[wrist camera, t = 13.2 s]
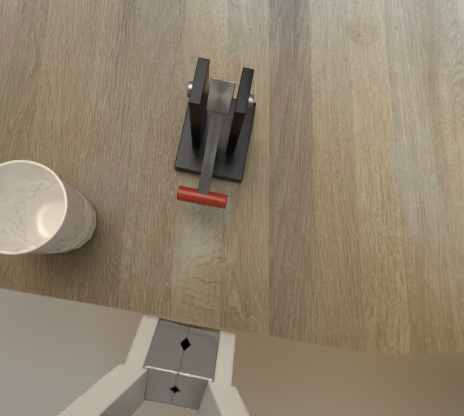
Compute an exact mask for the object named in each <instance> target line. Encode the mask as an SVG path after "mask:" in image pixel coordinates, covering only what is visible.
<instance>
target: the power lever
mask: <svg viewBox="0 0 464 416" xmlns="http://www.w3.org/2000/svg"><path fill="white" fill-rule="evenodd" d="M234 88H235V82H232V81H228V80H223V79H218V78H214V77H211V80H210V85H209V91H208V97H207V103H206V110H210V111H212V113H211V119H210V124H209V130H208V136H207V141H206V147H205V153H204V158H203V164H202V170H201V176H200V181H199V187H198V189H194V188H189V187H184V186H179V188H178V193H177V200H182V201H187V202H192V203H197V204H202V205H207V206H213V207H218V208H223V209H225V207H226V203H227V197H228V196H227V195H224V194H219V193H214V192H209V189H210V184H211V179H212V173H213V168H214V163H215V157H216V152H217V147H218V141H219V136H220V131H221V125H222V120H223V115H224V114H228V115H229V114H230V109H231V104H232V99H233V93H234Z"/></svg>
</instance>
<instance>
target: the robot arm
mask: <svg viewBox="0 0 464 416" xmlns="http://www.w3.org/2000/svg"><path fill="white" fill-rule="evenodd" d="M235 341H236V336H235V334H234V333H230V332H224V331H219V330H217V329H212V328H206V327H201V326H196V325H189V324H185V323H180V322H175V321H171V320H166V319H162V318H158V317H154V316H149V315H144V316H143V317H142V319H141V321H140V324H139V326H138V329H137V332H136V335H135V337H134V340H133V342H132V346H131V348H130V350H129V353H128V356H127V358H126V361H125V363H124V364H122V363H119V364H118V365H117V366H115V367H114V368H113V369H112V370H111V371H109V373H107V374H106V375H105V376H104V377H102V378H101V379H100V380H99V381H98V382H96V383H95V384H94V385H93V386H92V387H90V388H89V389H88V390H87V391H86V392H85V393H83V394H82V395H81V396H80V397H79V398H77V399H76V400H75V401H74V402H73V403H71V404H70V405H69V406H68V407H67V408H65V409H64V410H63V411H62V412H61V413H59V414H58V415H57V416H131V415H132V414H133V413H134V412H135V411H136V410H137V409H138V408H139V407H140V406H141V404H142V403H143V402H144V400H149V401H155V402H161V403H167V404H172V405H177V406H182V407H186V408H190V409H195V410H198V414H199V416H250V415H249V414H248V411H247V409H246V407H245V404H244V402H243V400H242V398H241V396H240V394H239V392H238V389H237V387H235V386H232V377H233V365H234V353H235Z"/></svg>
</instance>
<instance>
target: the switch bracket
mask: <svg viewBox="0 0 464 416" xmlns="http://www.w3.org/2000/svg"><path fill="white" fill-rule="evenodd" d="M209 65H210V60H209V59H204V58H200V57H199V58H198V62H197V67H196V71H195V76H194V80H193V82H192V81H190V82H189V85H188V91H187V97H190V98H189V103H188V108H187V112H186V117H185V121H184V126H183V130H182V135H181V139H180V144H179V148H178V153H177V157H176V161H175V166H174V167H175V170H179V171H184V172H189V173H194V174H199V175H201V170H202V164H203V158H204V153H205V147H206V141H207V136H208V130H209V124H210V119H211V113H212V111H210V110H206V103H207V97H208V88H209ZM253 73H254V70H253V69H249V68H243V70H242V75H241V80H240V84H239V89H238V94H237V99H234V98H233V99H232V104H231V109H230V114H229V115H228V114H224V115H223V120H222V125H221V131H220V136H219V141H218V147H217V152H216V157H215V163H214V168H213V173H212V177H214V178H219V179H224V180H229V181H234V182H239V183H241V181H242V178H243V173H244V167H245V162H246V156H247V150H248V145H249V139H250V134H251V128H252V122H253V117H254V111H255V106H256V103H253V100H254V95H252V94H250V89H251V84H252V78H253Z"/></svg>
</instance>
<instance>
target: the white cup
mask: <svg viewBox="0 0 464 416" xmlns="http://www.w3.org/2000/svg"><path fill="white" fill-rule="evenodd" d="M95 228H96V212H95V210H94V208H93V206H92V205H91V203H90V201H89V200H87V199H86V198H84V197H83V195H82V194H81V193H80V192H79V191H77V190H76V189H75V188H74V187H73V186H72V185H70V184H69V183H68V182H66V181H65V180H64V179H62V178H61V177H60V176H58V175H57V174H56V173H55V172H53V171H52V170H51V169H49V168H48V167H46V166H44V165H42V164H40V163H37V162H33V161H28V160H14V161H8V162H5V163H2V164H0V253H1V254H8V255H20V254H53V253H59V252H69V251H72V250H75V249H78V248H81V247H82V246H83V245H84V244H85V243H86V242H87V241H89V240H90V239H91V237H92V235H93V233H94V230H95Z"/></svg>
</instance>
